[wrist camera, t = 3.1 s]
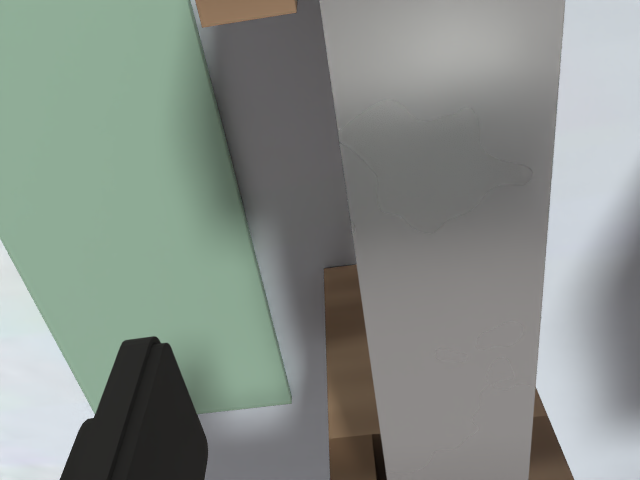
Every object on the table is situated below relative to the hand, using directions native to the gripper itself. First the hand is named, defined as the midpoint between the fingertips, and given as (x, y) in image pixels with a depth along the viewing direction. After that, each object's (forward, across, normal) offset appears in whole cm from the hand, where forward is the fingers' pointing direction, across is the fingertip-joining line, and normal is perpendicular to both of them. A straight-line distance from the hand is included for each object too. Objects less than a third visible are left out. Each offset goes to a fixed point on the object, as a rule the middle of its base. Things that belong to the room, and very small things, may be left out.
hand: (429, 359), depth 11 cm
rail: (+3, 0, 0) cm, 3 cm away
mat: (+11, +9, 0) cm, 15 cm away
